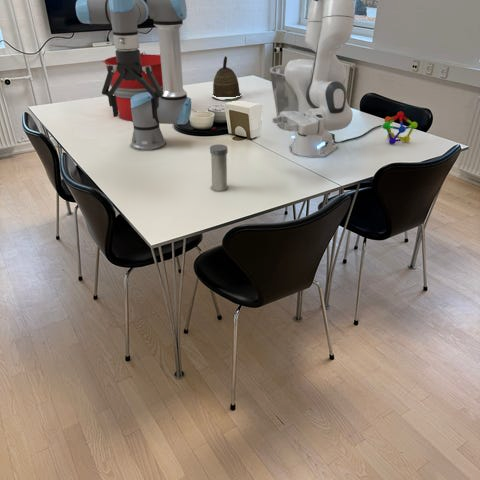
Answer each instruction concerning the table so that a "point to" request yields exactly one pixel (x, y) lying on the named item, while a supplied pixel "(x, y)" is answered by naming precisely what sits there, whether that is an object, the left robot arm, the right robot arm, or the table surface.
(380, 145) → the table surface
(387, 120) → the educational toy
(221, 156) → the jar
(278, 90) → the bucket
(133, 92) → the bucket
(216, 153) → the lid
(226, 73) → the bell
